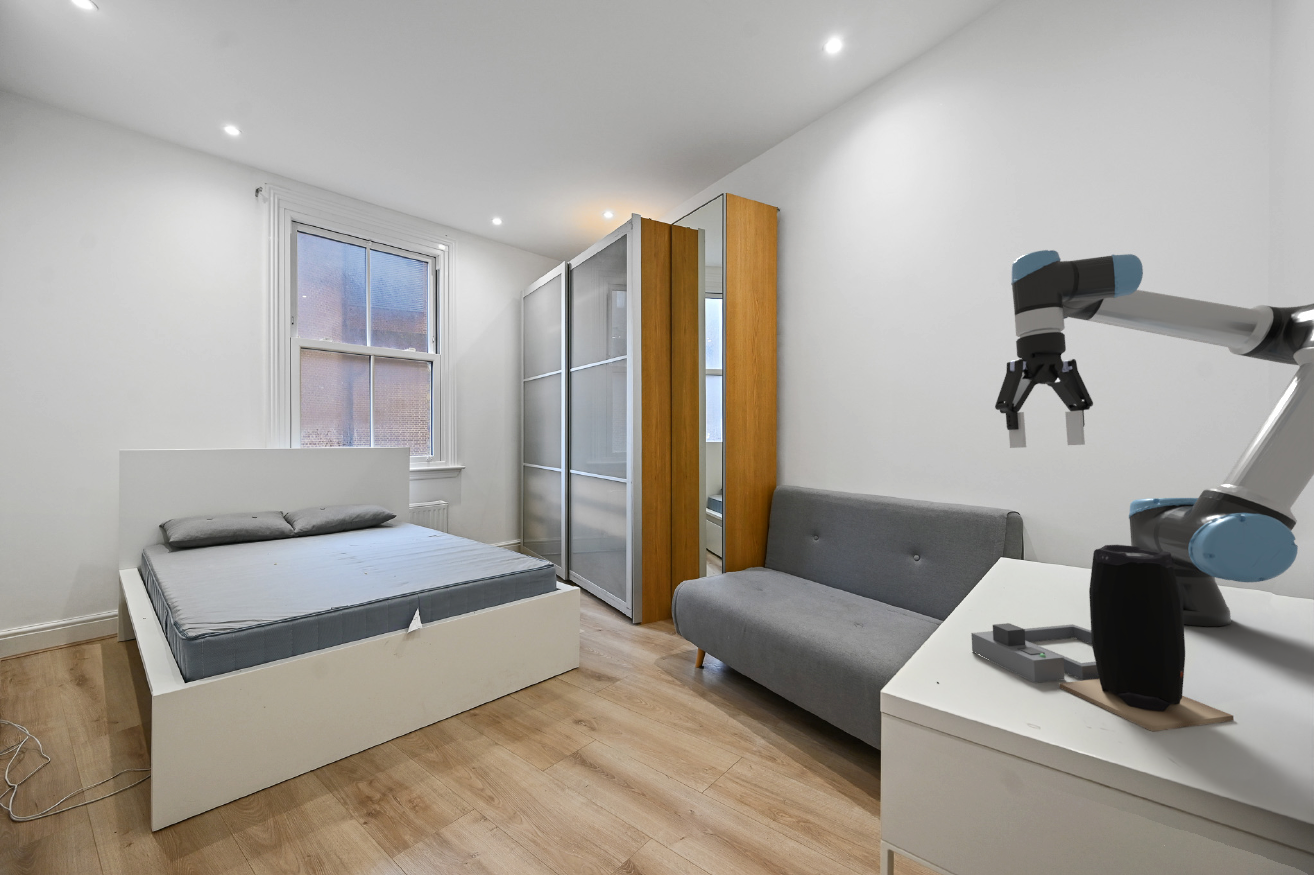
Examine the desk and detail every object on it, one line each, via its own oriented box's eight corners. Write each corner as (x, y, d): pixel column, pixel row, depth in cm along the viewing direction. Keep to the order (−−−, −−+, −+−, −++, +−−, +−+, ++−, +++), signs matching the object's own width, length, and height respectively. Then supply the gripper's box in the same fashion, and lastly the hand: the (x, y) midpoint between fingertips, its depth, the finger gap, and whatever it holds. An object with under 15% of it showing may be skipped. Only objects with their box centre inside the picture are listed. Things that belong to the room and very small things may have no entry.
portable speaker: (1207, 711, 65) (1198, 554, 66) (1138, 716, 65) (1130, 557, 65) (1139, 681, 74) (1131, 542, 74) (1077, 686, 73) (1070, 545, 74)
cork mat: (1130, 679, 76) (1130, 675, 76) (1233, 720, 64) (1233, 715, 64) (1059, 687, 74) (1059, 683, 74) (1152, 731, 62) (1151, 726, 62)
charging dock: (1073, 635, 94) (1072, 624, 94) (1170, 670, 79) (1169, 657, 79) (981, 644, 91) (981, 632, 91) (1064, 682, 76) (1063, 668, 76)
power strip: (998, 649, 88) (997, 616, 89) (1064, 679, 77) (1062, 640, 77) (972, 652, 88) (970, 618, 88) (1034, 682, 76) (1032, 643, 76)
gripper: (1072, 340, 106) (1079, 444, 105) (968, 339, 101) (976, 449, 100) (1111, 331, 99) (1120, 443, 98) (1002, 329, 93) (1010, 448, 93)
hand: (1047, 446), depth 99 cm, fingers open, 13 cm apart
